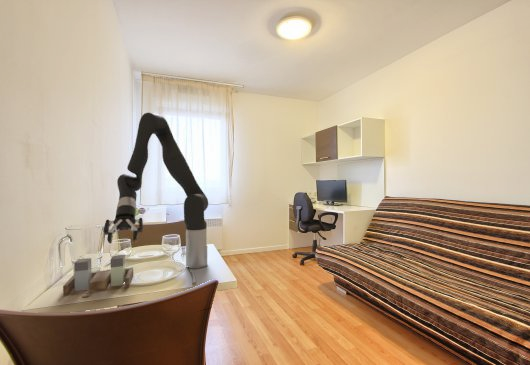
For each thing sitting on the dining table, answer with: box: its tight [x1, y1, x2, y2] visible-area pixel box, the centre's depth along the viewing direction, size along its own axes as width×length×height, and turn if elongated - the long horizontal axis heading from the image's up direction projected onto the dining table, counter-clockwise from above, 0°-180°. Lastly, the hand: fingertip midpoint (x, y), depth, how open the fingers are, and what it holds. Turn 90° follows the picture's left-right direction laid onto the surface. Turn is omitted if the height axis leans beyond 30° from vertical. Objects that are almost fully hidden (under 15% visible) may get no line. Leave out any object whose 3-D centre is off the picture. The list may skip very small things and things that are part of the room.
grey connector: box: [73, 257, 92, 291], centre depth 91 cm, size 4×4×10 cm
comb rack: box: [62, 267, 134, 297], centre depth 93 cm, size 20×11×4 cm, turn 110°
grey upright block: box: [110, 254, 126, 286], centre depth 94 cm, size 4×4×10 cm
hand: (122, 241), depth 102 cm, fingers open, 8 cm apart
